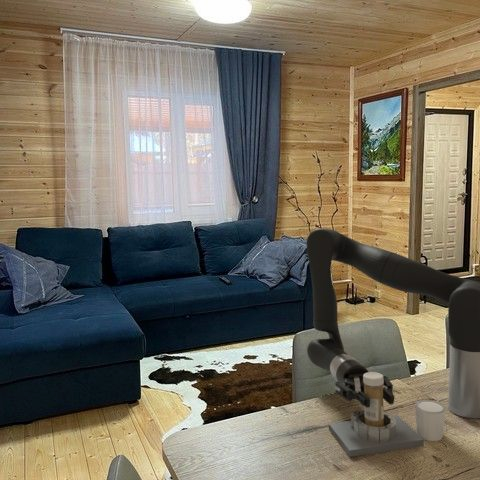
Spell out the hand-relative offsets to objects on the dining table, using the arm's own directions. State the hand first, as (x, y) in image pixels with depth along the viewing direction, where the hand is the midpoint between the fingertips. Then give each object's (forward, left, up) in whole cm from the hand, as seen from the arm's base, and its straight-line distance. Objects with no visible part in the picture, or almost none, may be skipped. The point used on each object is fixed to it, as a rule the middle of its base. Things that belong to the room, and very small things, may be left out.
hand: (380, 401), depth 109 cm
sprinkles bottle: (0, -3, -8) cm, 9 cm away
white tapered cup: (-13, -1, -10) cm, 17 cm away
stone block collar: (0, -3, -8) cm, 9 cm away
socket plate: (0, -3, -10) cm, 10 cm away
